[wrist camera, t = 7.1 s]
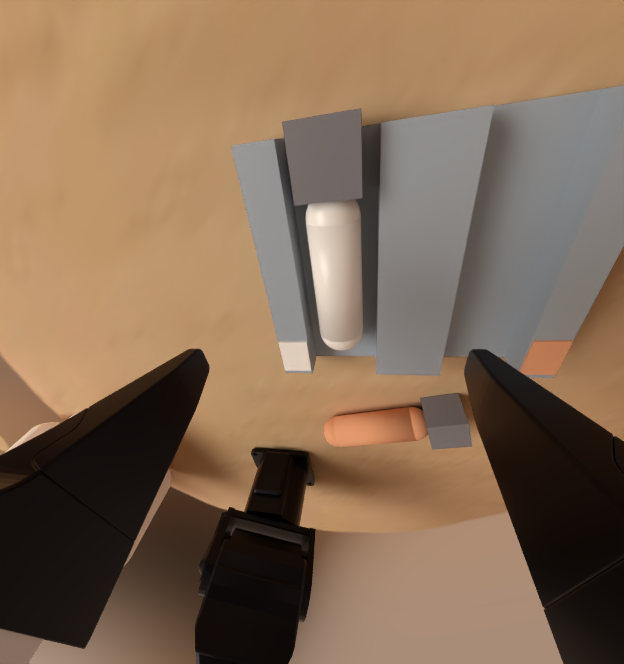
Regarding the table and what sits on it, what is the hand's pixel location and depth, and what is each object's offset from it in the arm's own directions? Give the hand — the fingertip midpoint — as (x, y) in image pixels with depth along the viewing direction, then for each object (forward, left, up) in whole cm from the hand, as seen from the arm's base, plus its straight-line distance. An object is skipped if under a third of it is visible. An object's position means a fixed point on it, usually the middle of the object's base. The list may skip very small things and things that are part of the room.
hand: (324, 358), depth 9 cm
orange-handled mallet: (-14, -3, -9) cm, 17 cm away
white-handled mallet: (+1, 0, -8) cm, 8 cm away
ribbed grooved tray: (0, -4, -9) cm, 10 cm away
